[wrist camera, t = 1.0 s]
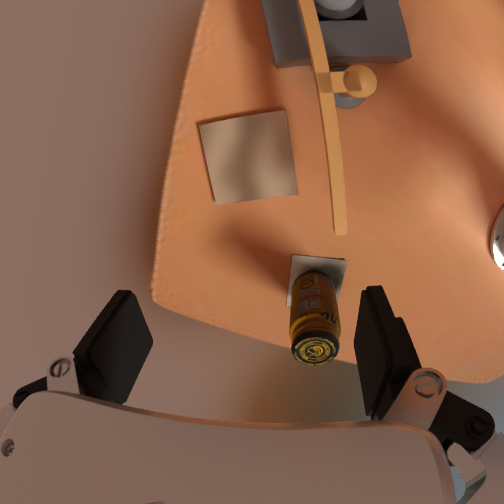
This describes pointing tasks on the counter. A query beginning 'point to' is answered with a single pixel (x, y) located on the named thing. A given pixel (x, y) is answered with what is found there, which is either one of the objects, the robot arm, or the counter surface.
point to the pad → (249, 157)
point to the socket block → (339, 38)
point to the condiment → (315, 308)
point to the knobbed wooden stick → (333, 106)
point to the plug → (337, 9)
